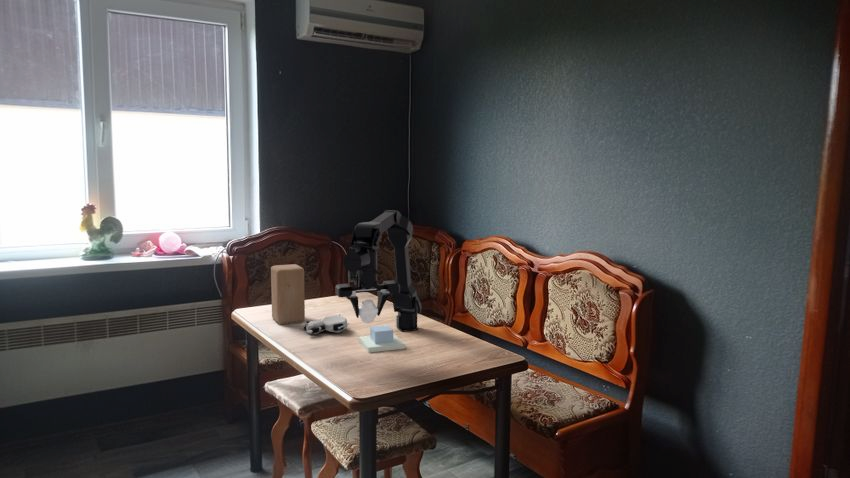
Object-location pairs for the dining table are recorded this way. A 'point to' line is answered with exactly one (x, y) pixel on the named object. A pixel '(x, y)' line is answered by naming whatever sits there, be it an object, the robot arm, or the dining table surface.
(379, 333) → the brick
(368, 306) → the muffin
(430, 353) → the dining table surface
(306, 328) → the robot toy
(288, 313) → the wooden block
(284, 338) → the dining table surface
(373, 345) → the pale green square slab
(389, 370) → the dining table surface
